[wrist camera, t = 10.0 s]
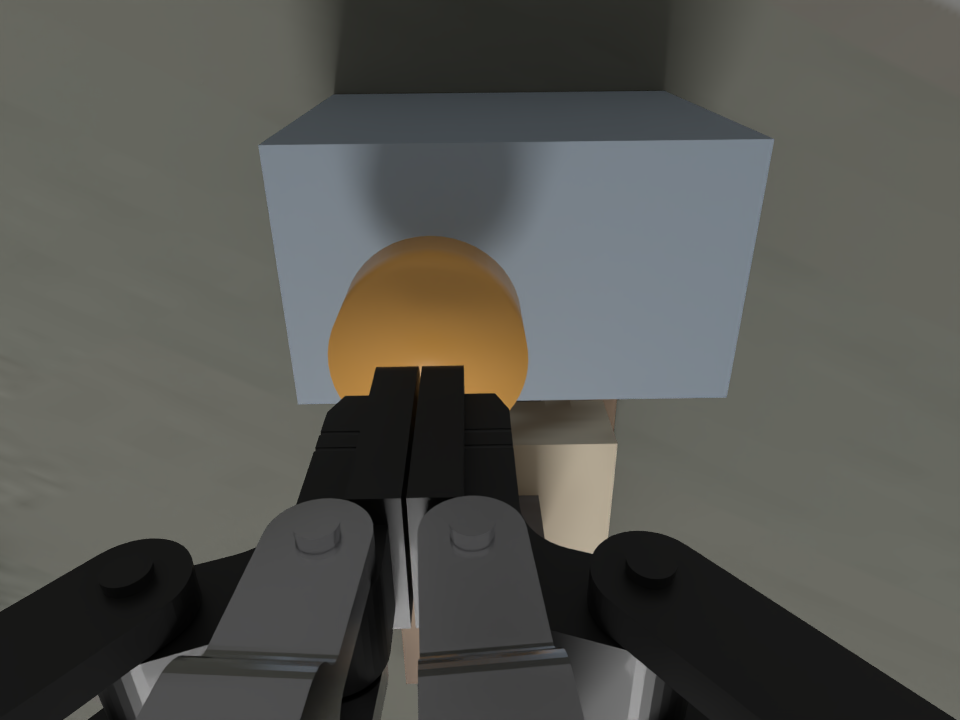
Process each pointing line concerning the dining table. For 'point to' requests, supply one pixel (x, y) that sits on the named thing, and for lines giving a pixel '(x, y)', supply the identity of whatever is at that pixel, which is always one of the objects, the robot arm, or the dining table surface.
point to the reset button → (431, 318)
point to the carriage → (565, 469)
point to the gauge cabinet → (533, 225)
